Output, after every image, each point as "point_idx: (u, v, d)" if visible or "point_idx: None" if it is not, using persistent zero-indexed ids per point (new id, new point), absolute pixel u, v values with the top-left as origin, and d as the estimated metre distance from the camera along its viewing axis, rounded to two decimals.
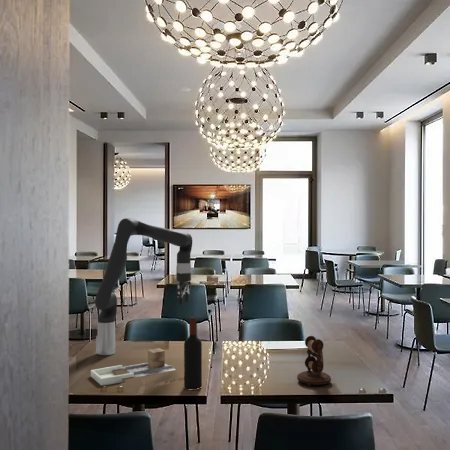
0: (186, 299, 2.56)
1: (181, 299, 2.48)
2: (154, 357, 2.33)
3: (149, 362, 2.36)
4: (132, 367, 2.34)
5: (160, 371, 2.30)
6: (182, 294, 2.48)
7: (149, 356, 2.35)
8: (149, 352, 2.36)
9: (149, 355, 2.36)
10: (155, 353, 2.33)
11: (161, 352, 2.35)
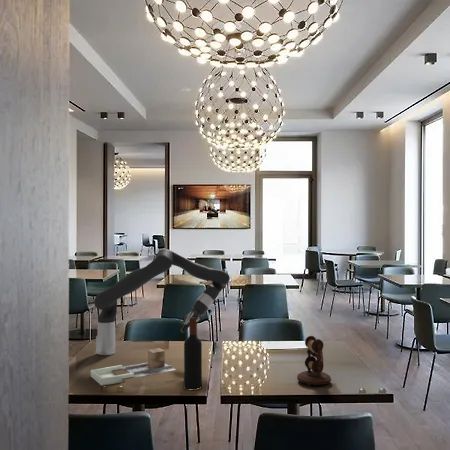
0: None
1: None
2: (154, 357, 2.33)
3: (149, 362, 2.36)
4: (132, 367, 2.34)
5: (160, 371, 2.30)
6: (185, 321, 2.46)
7: (149, 356, 2.35)
8: (149, 352, 2.36)
9: (149, 355, 2.36)
10: (155, 353, 2.33)
11: (161, 352, 2.35)
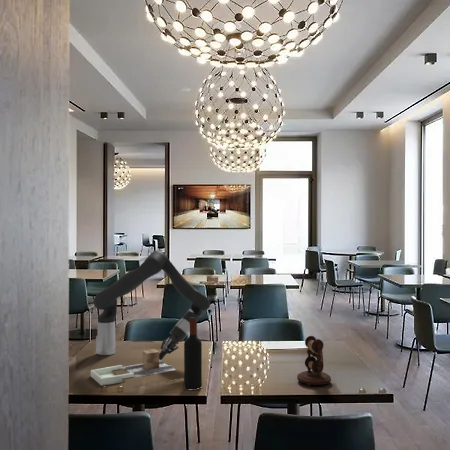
0: None
1: None
2: (148, 358, 2.31)
3: (143, 363, 2.34)
4: (132, 367, 2.34)
5: (160, 371, 2.30)
6: (162, 347, 2.38)
7: (144, 357, 2.34)
8: (143, 353, 2.34)
9: (143, 356, 2.34)
10: (149, 354, 2.31)
11: (155, 353, 2.33)
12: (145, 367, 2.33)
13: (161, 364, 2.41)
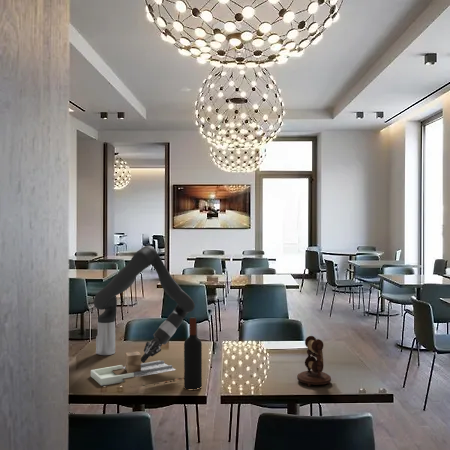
0: None
1: (143, 355, 2.32)
2: (129, 360, 2.27)
3: (126, 365, 2.31)
4: None
5: (160, 371, 2.30)
6: (145, 350, 2.34)
7: (126, 359, 2.30)
8: (126, 355, 2.31)
9: (126, 358, 2.31)
10: (130, 356, 2.27)
11: (137, 356, 2.28)
12: (127, 370, 2.29)
13: (161, 364, 2.41)
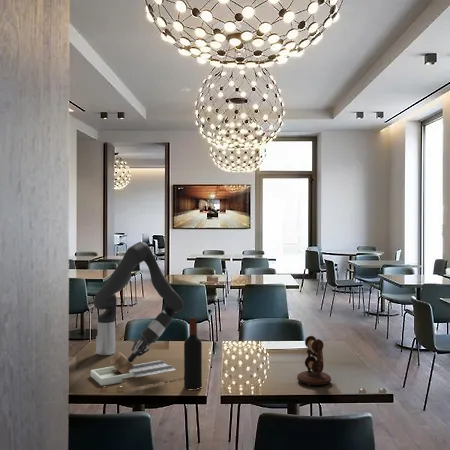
0: None
1: None
2: (116, 366, 2.25)
3: None
4: (132, 367, 2.34)
5: (160, 371, 2.30)
6: (133, 350, 2.32)
7: None
8: None
9: None
10: (114, 363, 2.25)
11: (119, 358, 2.25)
12: None
13: (161, 364, 2.41)
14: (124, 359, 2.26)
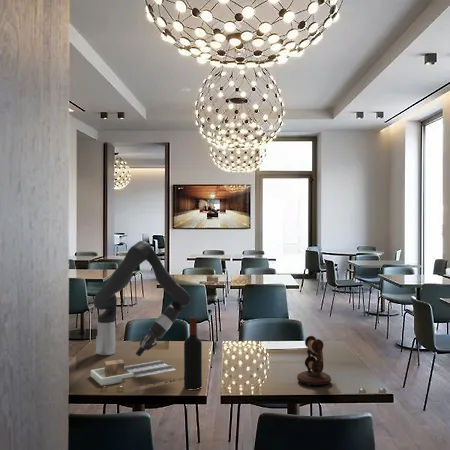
0: None
1: None
2: (111, 375, 2.24)
3: None
4: (132, 367, 2.34)
5: (160, 371, 2.30)
6: (141, 344, 2.34)
7: None
8: None
9: None
10: (107, 375, 2.24)
11: (107, 368, 2.23)
12: None
13: (161, 364, 2.41)
14: (112, 365, 2.24)
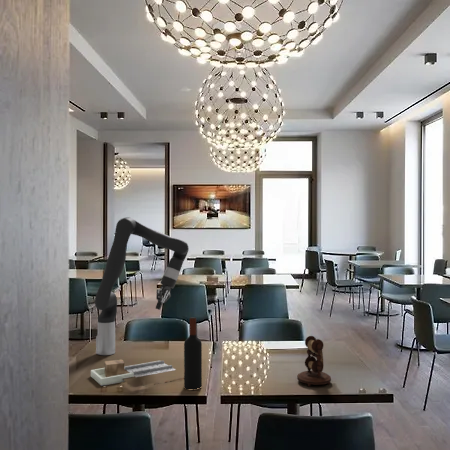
0: None
1: None
2: (111, 375, 2.24)
3: None
4: (132, 367, 2.34)
5: (160, 371, 2.30)
6: None
7: None
8: None
9: None
10: (107, 375, 2.24)
11: (107, 368, 2.23)
12: None
13: (161, 364, 2.41)
14: (112, 365, 2.24)
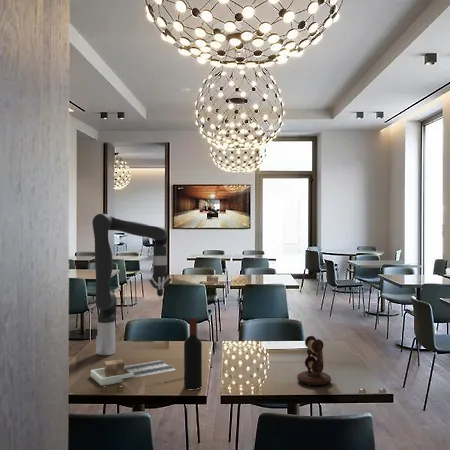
0: None
1: None
2: (111, 375, 2.24)
3: None
4: (132, 367, 2.34)
5: (160, 371, 2.30)
6: None
7: None
8: None
9: None
10: (107, 375, 2.24)
11: (107, 368, 2.23)
12: None
13: (161, 364, 2.41)
14: (112, 365, 2.24)
